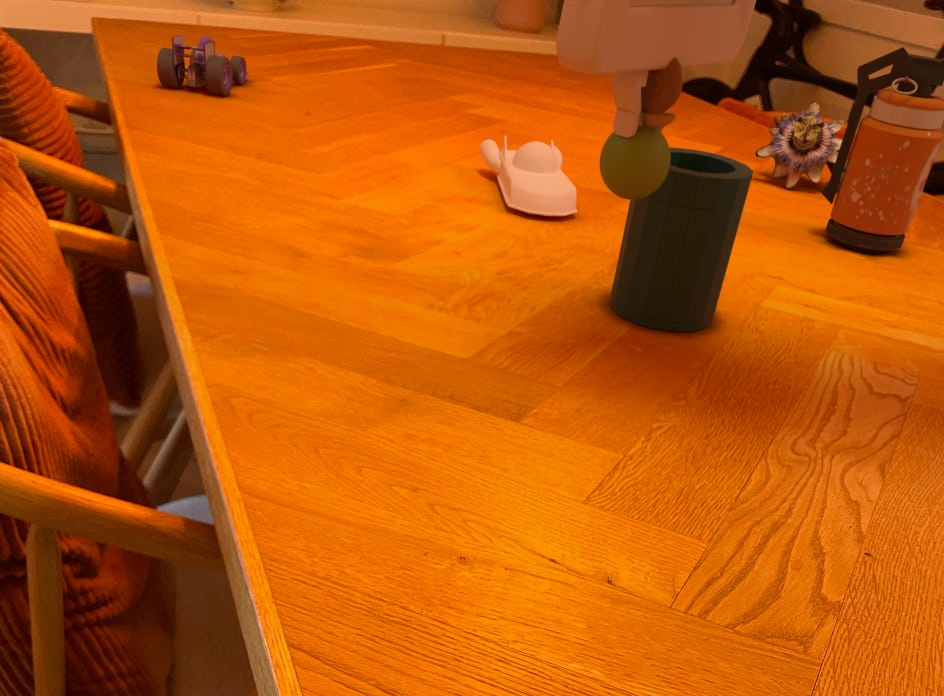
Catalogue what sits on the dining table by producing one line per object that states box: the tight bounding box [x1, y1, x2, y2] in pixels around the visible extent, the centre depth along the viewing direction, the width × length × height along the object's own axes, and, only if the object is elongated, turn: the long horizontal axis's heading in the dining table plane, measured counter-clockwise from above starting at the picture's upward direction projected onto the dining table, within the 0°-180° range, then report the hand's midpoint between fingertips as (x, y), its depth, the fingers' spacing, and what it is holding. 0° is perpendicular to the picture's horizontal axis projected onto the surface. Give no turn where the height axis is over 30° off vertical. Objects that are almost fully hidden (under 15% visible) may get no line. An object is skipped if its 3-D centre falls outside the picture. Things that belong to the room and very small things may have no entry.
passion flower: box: [754, 102, 848, 192], centre depth 137 cm, size 11×11×12 cm
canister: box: [820, 46, 944, 254], centre depth 112 cm, size 9×11×20 cm
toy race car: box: [156, 34, 249, 97], centre depth 144 cm, size 10×15×6 cm, turn 170°
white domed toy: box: [479, 135, 578, 217], centre depth 117 cm, size 10×20×6 cm, turn 7°
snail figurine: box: [599, 58, 684, 201], centre depth 75 cm, size 5×6×12 cm
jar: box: [609, 146, 754, 333], centre depth 88 cm, size 10×10×13 cm
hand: (637, 133), depth 76 cm, fingers closed on snail figurine
